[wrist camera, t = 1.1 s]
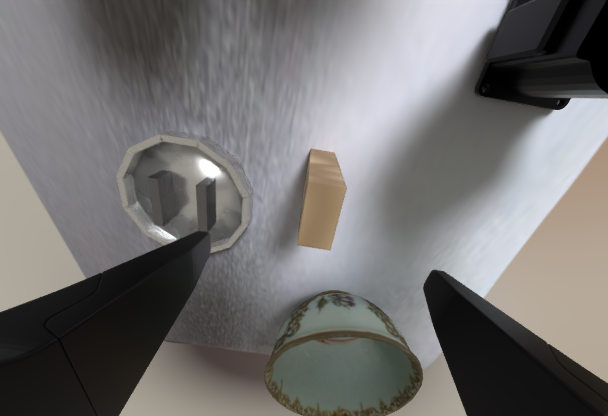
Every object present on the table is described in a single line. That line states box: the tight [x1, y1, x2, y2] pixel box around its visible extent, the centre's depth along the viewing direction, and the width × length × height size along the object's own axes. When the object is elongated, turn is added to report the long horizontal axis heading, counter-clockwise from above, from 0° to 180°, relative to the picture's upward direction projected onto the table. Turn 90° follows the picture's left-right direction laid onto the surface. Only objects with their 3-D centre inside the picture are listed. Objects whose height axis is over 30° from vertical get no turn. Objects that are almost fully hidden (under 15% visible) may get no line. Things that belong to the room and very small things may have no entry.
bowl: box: [264, 291, 423, 416], centre depth 23 cm, size 14×13×8 cm
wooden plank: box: [297, 149, 347, 250], centre depth 16 cm, size 2×4×8 cm, turn 171°
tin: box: [116, 131, 253, 253], centre depth 20 cm, size 11×11×2 cm
